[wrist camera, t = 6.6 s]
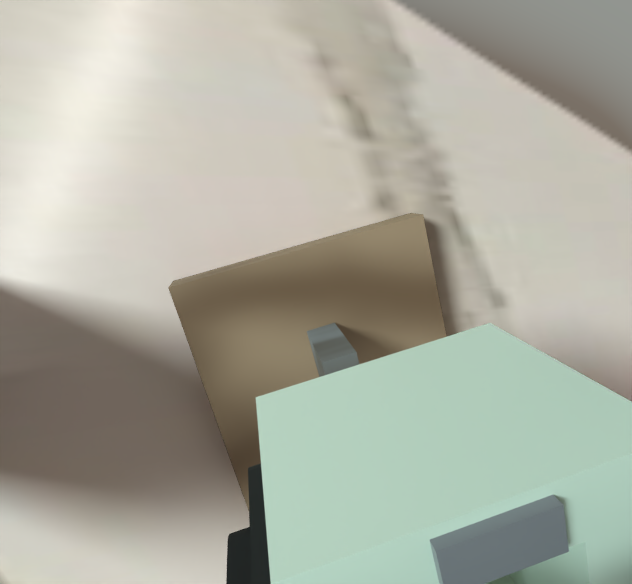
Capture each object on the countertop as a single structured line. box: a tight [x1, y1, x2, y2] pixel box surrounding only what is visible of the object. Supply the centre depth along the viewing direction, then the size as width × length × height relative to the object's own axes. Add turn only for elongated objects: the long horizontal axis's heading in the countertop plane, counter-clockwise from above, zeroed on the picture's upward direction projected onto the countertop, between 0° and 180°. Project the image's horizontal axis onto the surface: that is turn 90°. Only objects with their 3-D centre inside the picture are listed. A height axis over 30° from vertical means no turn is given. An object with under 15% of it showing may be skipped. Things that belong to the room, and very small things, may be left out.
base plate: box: [169, 213, 447, 510], centre depth 21 cm, size 20×12×6 cm, turn 15°
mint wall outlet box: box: [256, 323, 632, 584], centre depth 9 cm, size 6×6×5 cm
